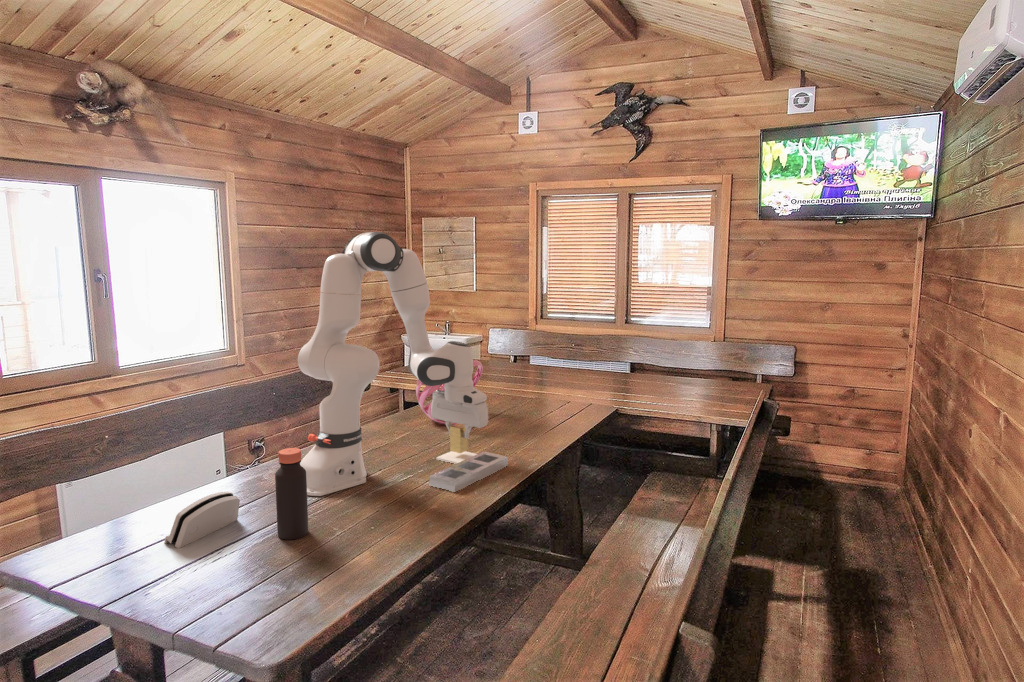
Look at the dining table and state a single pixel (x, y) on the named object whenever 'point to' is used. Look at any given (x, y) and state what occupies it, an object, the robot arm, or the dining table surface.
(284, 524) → the bottle
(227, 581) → the dining table surface
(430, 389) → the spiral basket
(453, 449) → the block
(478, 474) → the rail
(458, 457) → the pad
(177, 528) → the napkin holder
